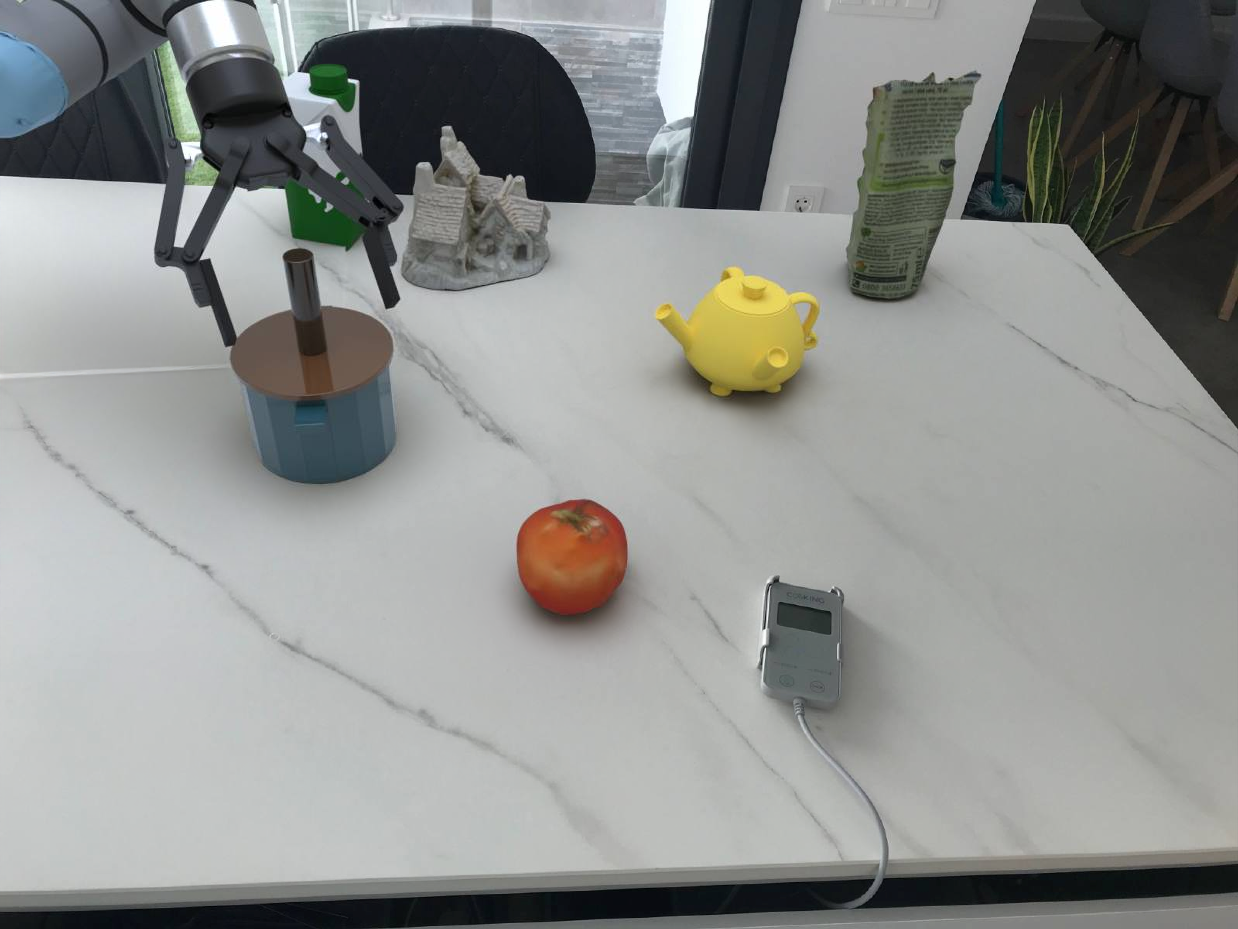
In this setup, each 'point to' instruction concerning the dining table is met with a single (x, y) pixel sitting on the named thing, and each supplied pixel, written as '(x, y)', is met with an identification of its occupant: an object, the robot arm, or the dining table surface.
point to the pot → (324, 432)
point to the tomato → (571, 556)
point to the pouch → (905, 181)
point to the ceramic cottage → (471, 225)
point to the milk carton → (323, 151)
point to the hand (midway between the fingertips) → (315, 323)
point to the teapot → (744, 333)
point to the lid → (310, 344)
